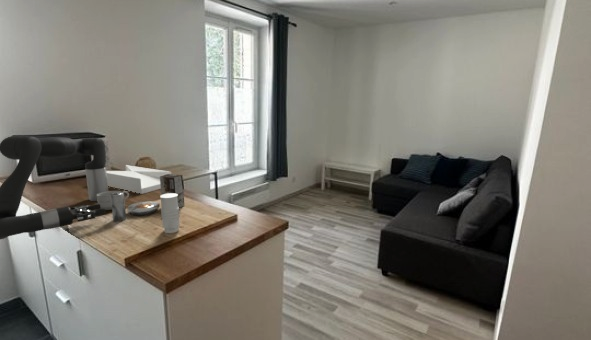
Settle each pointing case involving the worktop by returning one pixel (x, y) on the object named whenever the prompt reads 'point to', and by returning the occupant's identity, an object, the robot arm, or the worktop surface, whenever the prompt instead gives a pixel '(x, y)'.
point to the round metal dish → (143, 208)
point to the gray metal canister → (118, 206)
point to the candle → (170, 212)
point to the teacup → (107, 199)
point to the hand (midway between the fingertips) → (102, 208)
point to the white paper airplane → (136, 179)
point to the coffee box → (173, 186)
